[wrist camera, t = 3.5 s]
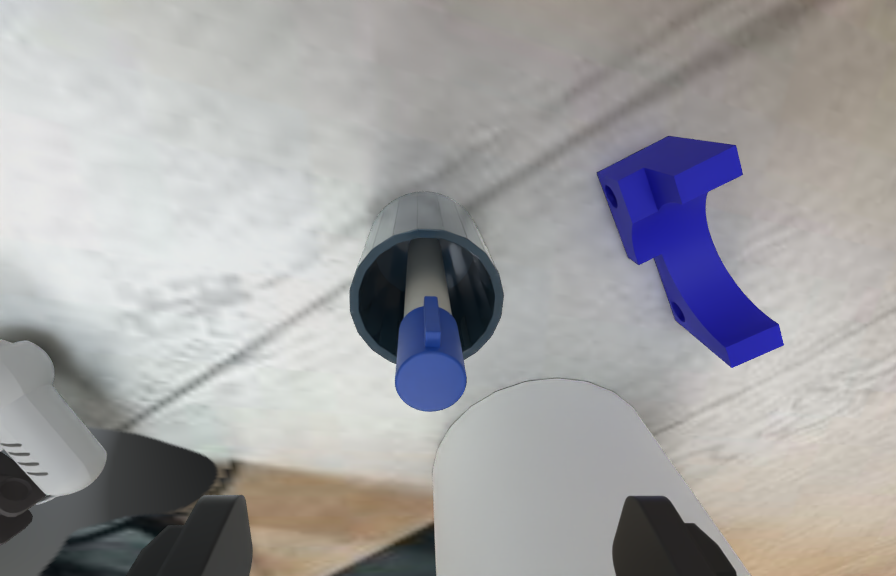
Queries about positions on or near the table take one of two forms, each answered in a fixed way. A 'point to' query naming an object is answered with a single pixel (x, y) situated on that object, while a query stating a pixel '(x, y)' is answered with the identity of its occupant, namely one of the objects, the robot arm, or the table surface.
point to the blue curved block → (687, 241)
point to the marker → (428, 334)
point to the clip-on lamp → (38, 438)
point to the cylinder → (549, 482)
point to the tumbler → (386, 267)
